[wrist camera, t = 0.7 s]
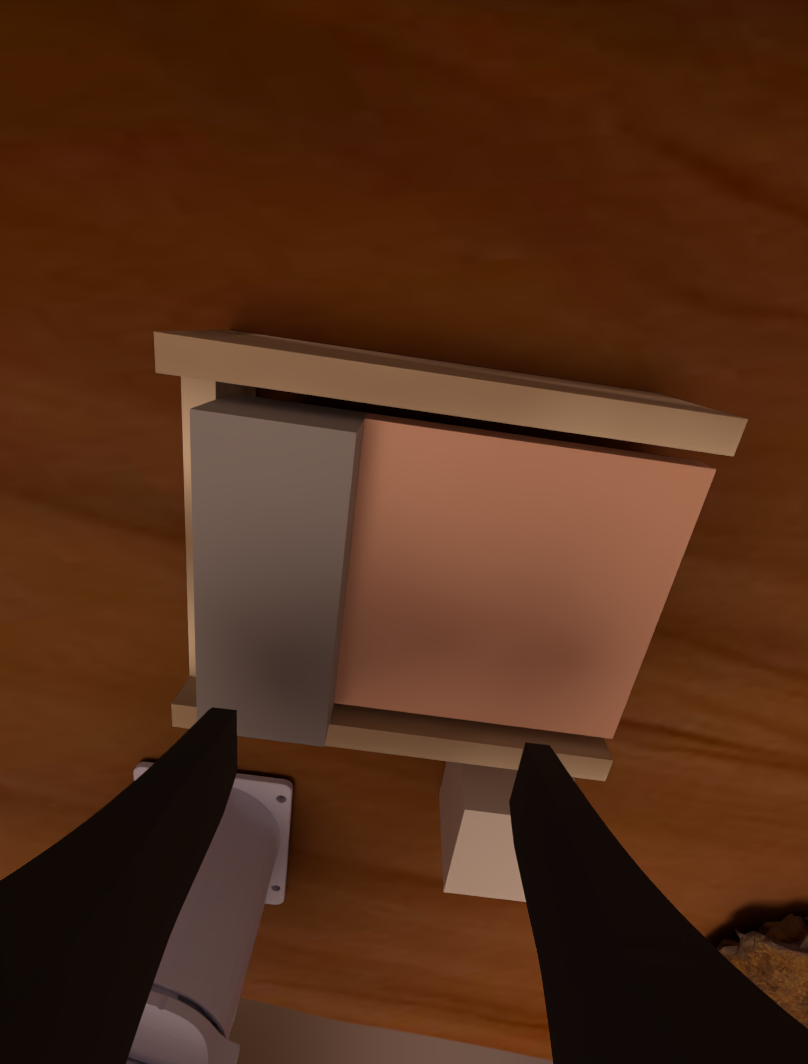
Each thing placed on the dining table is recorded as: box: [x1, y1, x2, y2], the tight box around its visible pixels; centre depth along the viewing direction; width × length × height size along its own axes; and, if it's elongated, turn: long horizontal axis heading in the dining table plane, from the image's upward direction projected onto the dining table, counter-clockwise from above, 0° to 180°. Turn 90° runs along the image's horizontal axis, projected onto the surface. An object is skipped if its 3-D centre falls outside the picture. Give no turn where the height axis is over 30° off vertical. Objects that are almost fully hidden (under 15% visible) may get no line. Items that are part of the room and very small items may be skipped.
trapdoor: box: [190, 393, 716, 747], centre depth 15 cm, size 10×14×3 cm
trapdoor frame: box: [154, 330, 748, 781], centre depth 18 cm, size 13×16×6 cm
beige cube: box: [439, 761, 576, 902], centre depth 23 cm, size 5×5×5 cm
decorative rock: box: [716, 913, 808, 1029], centre depth 30 cm, size 11×4×15 cm
